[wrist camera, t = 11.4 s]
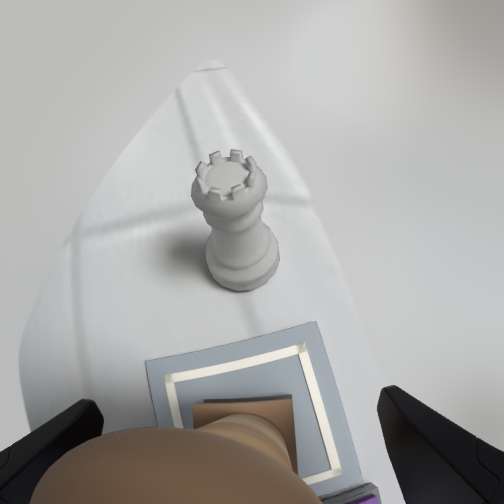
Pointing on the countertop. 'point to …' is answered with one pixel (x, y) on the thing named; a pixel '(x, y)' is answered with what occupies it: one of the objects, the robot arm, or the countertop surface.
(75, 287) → the countertop surface
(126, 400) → the countertop surface
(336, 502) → the ink pad
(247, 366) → the marked card
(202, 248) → the countertop surface
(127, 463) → the wooden ball finial
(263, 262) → the rook chess piece
